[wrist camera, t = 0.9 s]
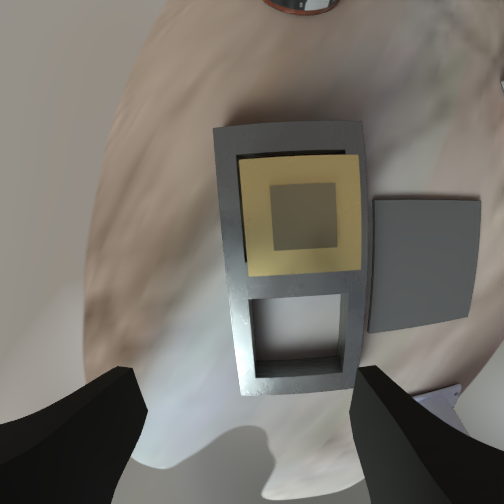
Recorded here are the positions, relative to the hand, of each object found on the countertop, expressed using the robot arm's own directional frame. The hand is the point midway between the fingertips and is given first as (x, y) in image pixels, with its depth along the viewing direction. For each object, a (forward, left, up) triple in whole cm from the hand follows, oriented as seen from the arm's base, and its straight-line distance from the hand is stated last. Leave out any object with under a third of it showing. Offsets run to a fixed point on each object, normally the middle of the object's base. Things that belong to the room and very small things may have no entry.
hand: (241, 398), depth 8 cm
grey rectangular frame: (+1, -2, -10) cm, 11 cm away
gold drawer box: (+5, -2, -10) cm, 12 cm away
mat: (+1, -12, -10) cm, 16 cm away
